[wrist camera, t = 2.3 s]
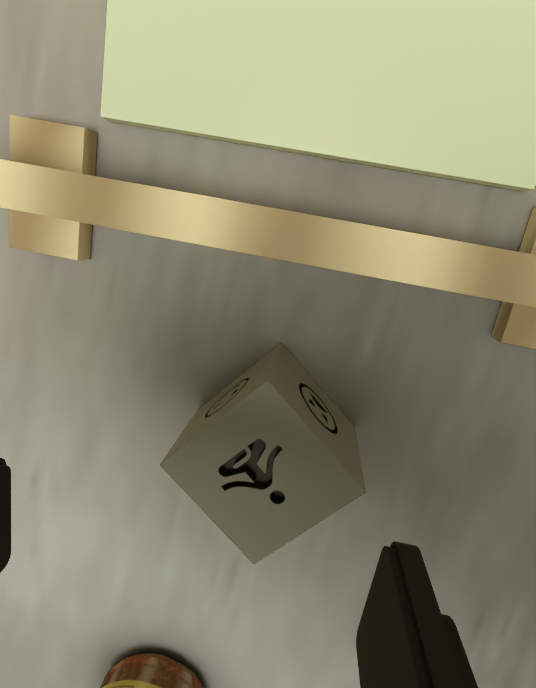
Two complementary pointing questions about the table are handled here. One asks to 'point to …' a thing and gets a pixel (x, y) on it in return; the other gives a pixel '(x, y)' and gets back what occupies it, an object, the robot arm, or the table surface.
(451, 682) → the robot arm
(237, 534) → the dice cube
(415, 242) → the wooden barrier
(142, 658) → the sauce bottle
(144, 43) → the pad
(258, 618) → the table surface
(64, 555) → the table surface
